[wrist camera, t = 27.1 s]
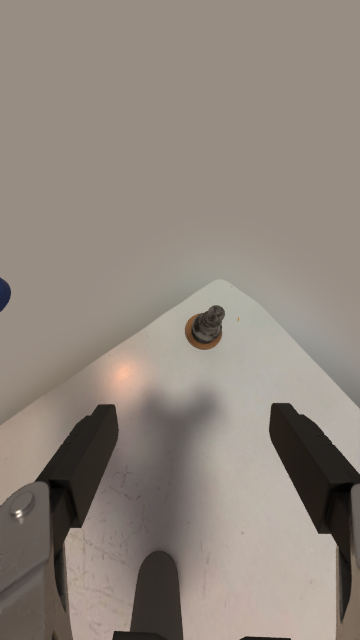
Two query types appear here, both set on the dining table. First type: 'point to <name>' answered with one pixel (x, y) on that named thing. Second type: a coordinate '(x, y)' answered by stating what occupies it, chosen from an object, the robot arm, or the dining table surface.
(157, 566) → the bottle
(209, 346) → the cork coaster
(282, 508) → the dining table surface
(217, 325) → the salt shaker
